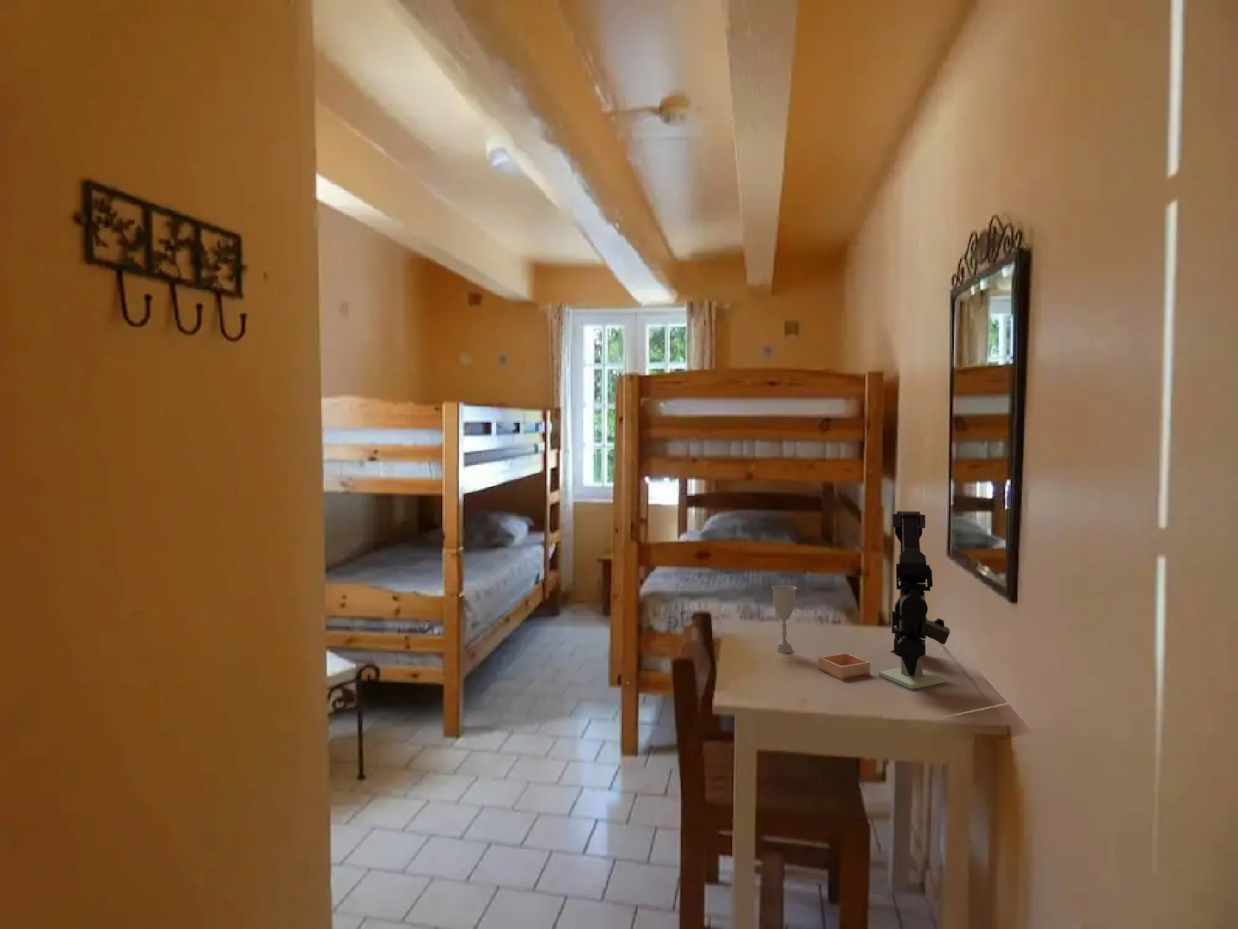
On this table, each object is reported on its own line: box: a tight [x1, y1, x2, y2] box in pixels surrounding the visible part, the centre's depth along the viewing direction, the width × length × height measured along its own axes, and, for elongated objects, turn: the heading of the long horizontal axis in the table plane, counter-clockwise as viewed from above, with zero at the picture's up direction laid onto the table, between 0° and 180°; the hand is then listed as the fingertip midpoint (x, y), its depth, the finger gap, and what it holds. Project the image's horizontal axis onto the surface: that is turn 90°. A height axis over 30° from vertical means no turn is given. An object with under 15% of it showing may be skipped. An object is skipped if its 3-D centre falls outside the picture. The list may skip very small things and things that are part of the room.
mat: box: [872, 674, 952, 693], centre depth 188 cm, size 13×13×1 cm
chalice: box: [771, 584, 797, 654], centre depth 214 cm, size 7×7×18 cm
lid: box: [878, 657, 947, 689], centre depth 188 cm, size 11×11×5 cm
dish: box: [817, 652, 871, 681], centre depth 194 cm, size 9×9×4 cm
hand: (911, 672), depth 188 cm, fingers closed on lid, 5 cm apart
